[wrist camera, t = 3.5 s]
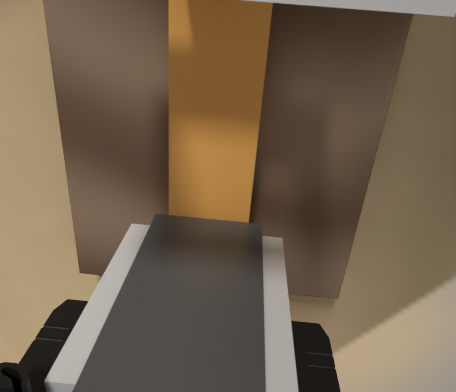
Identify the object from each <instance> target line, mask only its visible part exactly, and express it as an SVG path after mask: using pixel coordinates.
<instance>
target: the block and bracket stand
mask: <svg viewBox="0 0 456 392" xmlns="http://www.w3.org/2000/svg"><path fill="white" fill-rule="evenodd" d="M273 3H284V4H296V5H309V6H322V7H335V8H347V9H360V10H373V11H386V12H398V13H411V14H424V15H436V16H449V17H455V14H456V0H169V215H163V214H155V216H154V218H153V220H152V223H151V225H150V227H149V229H148V231H147V233H146V235H145V238H144V240H143V242H142V244H141V246H140V248H139V250H138V252H137V255H136V257H135V259H134V261H133V263H132V265H131V267H130V269H129V272H128V274H127V276H126V278H125V280H124V282H123V284H122V287H121V289H120V291H119V293H118V295H117V297H116V299H115V301H114V304H113V306H112V308H111V310H110V312H109V314H108V316H107V318H106V321H105V323H104V325H103V327H102V329H101V331H100V333H99V336H98V338H97V340H96V342H95V344H94V346H93V348H92V350H91V353H90V355H89V357H88V359H87V361H86V363H85V365H84V367H83V370H82V372H81V374H80V376H79V378H78V380H77V382H76V385H75V387H74V389H73V391H72V392H266V380H265V335H264V291H263V246H262V224H259V223H249V215H250V205H251V196H252V187H253V178H254V169H255V160H256V151H257V142H258V133H259V124H260V115H261V106H262V97H263V87H264V78H265V69H266V60H267V51H268V42H269V33H270V24H271V15H272V6H273Z"/></svg>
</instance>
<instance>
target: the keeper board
mask: <svg viewBox="0 0 456 392" xmlns="http://www.w3.org/2000/svg"><path fill="white" fill-rule="evenodd" d="M43 5H44V12H45V20H46V27H47V35H48V42H49V49H50V57H51V64H52V71H53V79H54V86H55V93H56V101H57V108H58V116H59V123H60V130H61V138H62V145H63V152H64V160H65V167H66V175H67V182H68V189H69V197H70V204H71V211H72V219H73V226H74V233H75V241H76V248H77V256H78V263H79V270H80V273H84V274H94V275H103V274H104V272H105V271H106V269H107V267H108V265H109V263H110V262H111V260H112V258H113V256H114V254H115V253H116V251H117V249H118V247H119V245H120V244H121V242H122V240H123V238H124V236H125V235H126V233H127V231H128V229H129V227H130V226H131V224H142V225H151V223H152V220H153V218H154V216H155V214H163V215H169V0H43ZM412 16H413V14H411V13H398V12H386V11H373V10H360V9H347V8H335V7H322V6H309V5H296V4H284V3H273V6H272V15H271V24H270V33H269V42H268V51H267V60H266V69H265V78H264V87H263V97H262V106H261V115H260V124H259V133H258V142H257V151H256V160H255V169H254V178H253V187H252V196H251V205H250V215H249V223H259V224H262V236H268V237H279V238H282V239H283V249H284V258H285V268H286V277H287V287H288V294H296V295H306V296H316V297H326V298H336V299H338V297H339V293H340V289H341V285H342V282H343V278H344V274H345V270H346V266H347V263H348V259H349V255H350V251H351V247H352V244H353V240H354V236H355V232H356V228H357V225H358V221H359V217H360V213H361V209H362V206H363V202H364V198H365V194H366V190H367V187H368V183H369V179H370V175H371V171H372V168H373V164H374V160H375V156H376V152H377V149H378V145H379V141H380V137H381V133H382V130H383V126H384V122H385V118H386V114H387V111H388V107H389V103H390V99H391V95H392V92H393V88H394V84H395V80H396V76H397V73H398V69H399V65H400V61H401V57H402V54H403V50H404V46H405V42H406V38H407V35H408V31H409V27H410V23H411V19H412Z"/></svg>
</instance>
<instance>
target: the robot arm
mask: <svg viewBox="0 0 456 392" xmlns="http://www.w3.org/2000/svg"><path fill="white" fill-rule="evenodd" d="M149 227H150V225H142V224H131V226H130V227H129V229H128V231H127V233H126V235H125V236H124V238H123V240H122V242H121V244H120V245H119V247H118V249H117V251H116V253H115V254H114V256H113V258H112V260H111V262H110V263H109V265H108V267H107V269H106V271H105V272H104V274H103V276H102V278H101V280H100V281H99V283H98V285H97V287H96V289H95V290H94V292H93V294H92V296H91V298H90V299H89V301H80V300H70V299H67V300H66V301H65V302H64V303H62V304H61V305H60V306H58V307H57V308H56V309H55V310H53V312H52V313H51V315H50V316H49V318H48V319H47V321H46V322H45V324H44V327H43V328H41V330H40V332H39V333H38V335H37V336H36V339H35V340H34V341H33V342H32V344H31V345H30V347H29V348H28V350H27V351H26V353H25V355H24V356H23V358H22V359H21V361H20V362H19V364H17V363H8V362H4V363H0V392H72V391H73V389H74V387H75V385H76V382H77V380H78V378H79V376H80V374H81V372H82V370H83V367H84V365H85V363H86V361H87V359H88V357H89V355H90V353H91V350H92V348H93V346H94V344H95V342H96V340H97V338H98V336H99V333H100V331H101V329H102V327H103V325H104V323H105V321H106V318H107V316H108V314H109V312H110V310H111V308H112V306H113V304H114V301H115V299H116V297H117V295H118V293H119V291H120V289H121V287H122V284H123V282H124V280H125V278H126V276H127V274H128V272H129V269H130V267H131V265H132V263H133V261H134V259H135V257H136V255H137V252H138V250H139V248H140V246H141V244H142V242H143V240H144V238H145V235H146V233H147V231H148V229H149ZM262 246H263V291H264V335H265V380H266V392H340V387H339V382H338V378H337V373H336V370H335V364H334V359H333V357H332V349H331V345H330V340H329V337H328V336H327V334H326V333H325V331H324V330H323V328H322V327H321V325H320V324H317V323H308V322H298V321H291V315H290V306H289V296H288V287H287V277H286V268H285V258H284V249H283V239H282V238H279V237H268V236H262Z"/></svg>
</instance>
